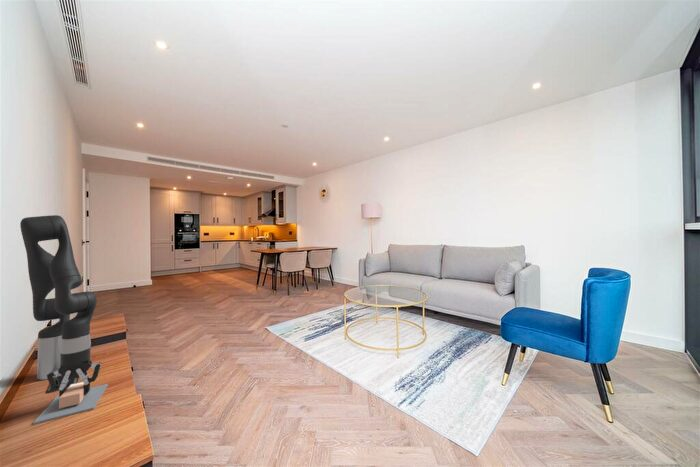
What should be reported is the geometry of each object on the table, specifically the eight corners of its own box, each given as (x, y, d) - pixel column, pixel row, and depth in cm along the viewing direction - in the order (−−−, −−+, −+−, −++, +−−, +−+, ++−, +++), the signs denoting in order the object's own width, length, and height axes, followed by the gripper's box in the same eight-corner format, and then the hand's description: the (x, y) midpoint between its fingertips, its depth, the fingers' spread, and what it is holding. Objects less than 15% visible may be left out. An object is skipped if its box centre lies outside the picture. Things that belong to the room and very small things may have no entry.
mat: (58, 396, 98) (58, 394, 98) (107, 385, 105) (107, 383, 105) (33, 424, 83) (33, 422, 83) (93, 409, 90) (93, 407, 90)
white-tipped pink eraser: (79, 403, 91) (79, 393, 91) (58, 408, 88) (59, 398, 88) (89, 390, 99) (89, 380, 100) (70, 394, 97) (70, 384, 97)
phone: (80, 370, 116) (76, 384, 105) (80, 373, 116) (76, 387, 105) (53, 377, 111) (46, 391, 100) (53, 379, 111) (46, 394, 100)
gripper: (41, 357, 88) (40, 409, 87) (99, 347, 95) (98, 395, 94) (52, 349, 94) (51, 398, 93) (105, 341, 101) (104, 386, 101)
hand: (75, 396), depth 94 cm, fingers closed on white-tipped pink eraser, 4 cm apart
